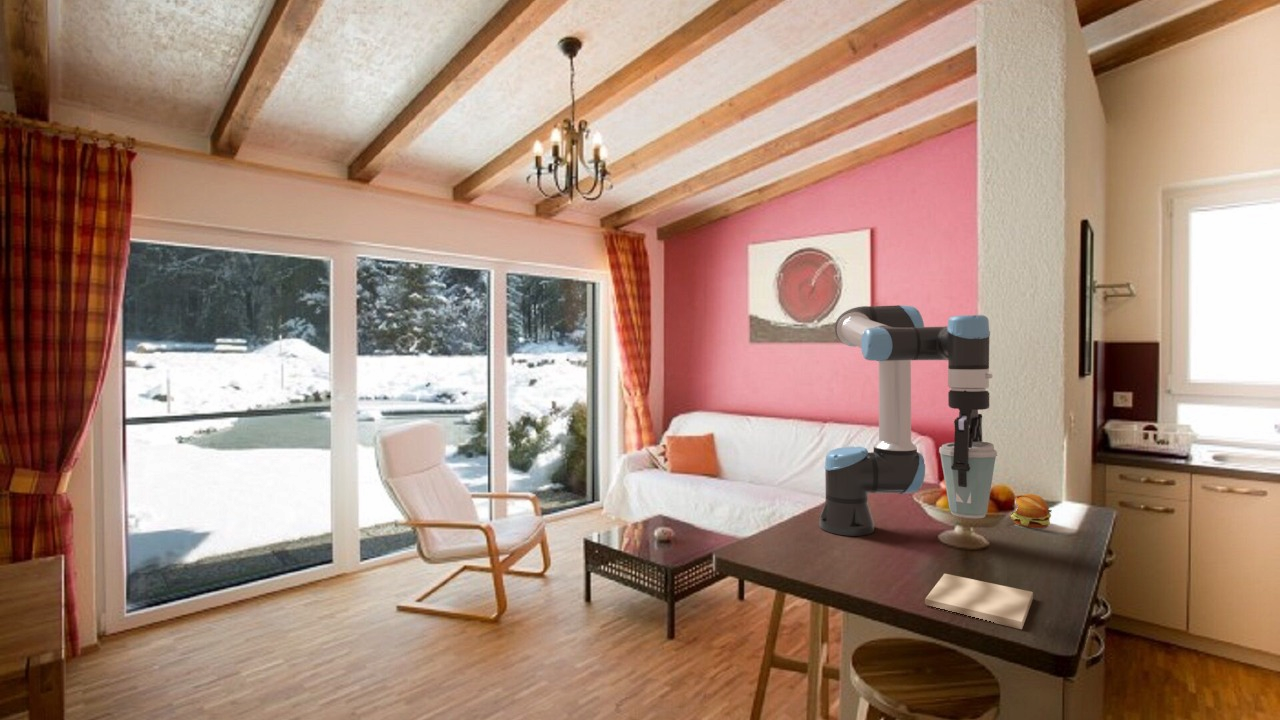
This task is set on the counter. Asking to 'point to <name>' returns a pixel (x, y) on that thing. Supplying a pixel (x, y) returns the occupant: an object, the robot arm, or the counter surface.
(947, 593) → the birch board
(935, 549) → the counter surface
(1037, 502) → the cheeseburger
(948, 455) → the disposable coffee cup
